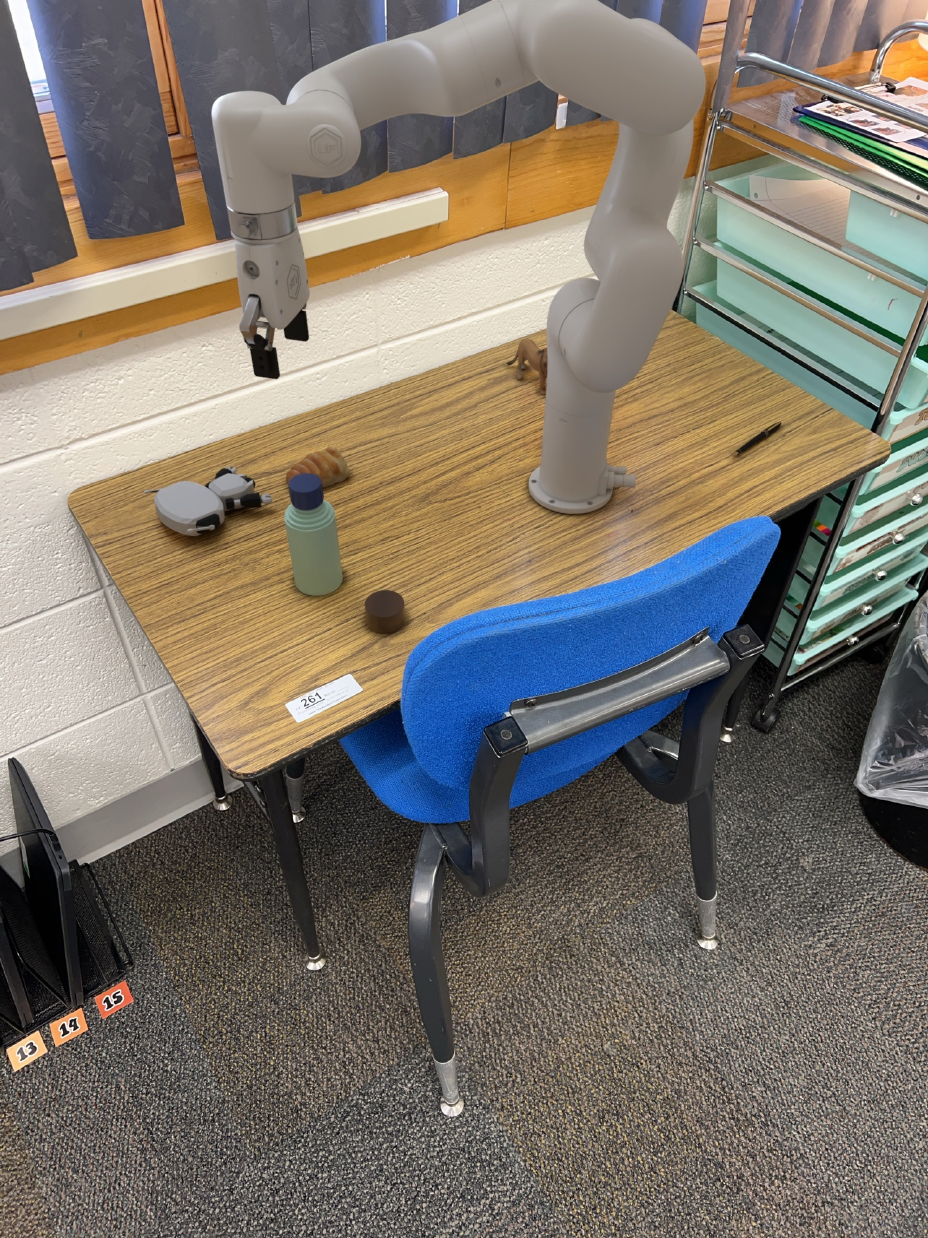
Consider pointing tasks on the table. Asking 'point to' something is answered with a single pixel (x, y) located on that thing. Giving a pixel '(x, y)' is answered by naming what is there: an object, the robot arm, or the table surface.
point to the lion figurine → (532, 361)
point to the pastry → (322, 467)
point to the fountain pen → (758, 438)
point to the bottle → (314, 549)
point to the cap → (306, 491)
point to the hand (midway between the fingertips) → (282, 357)
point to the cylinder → (385, 611)
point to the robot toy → (205, 501)
